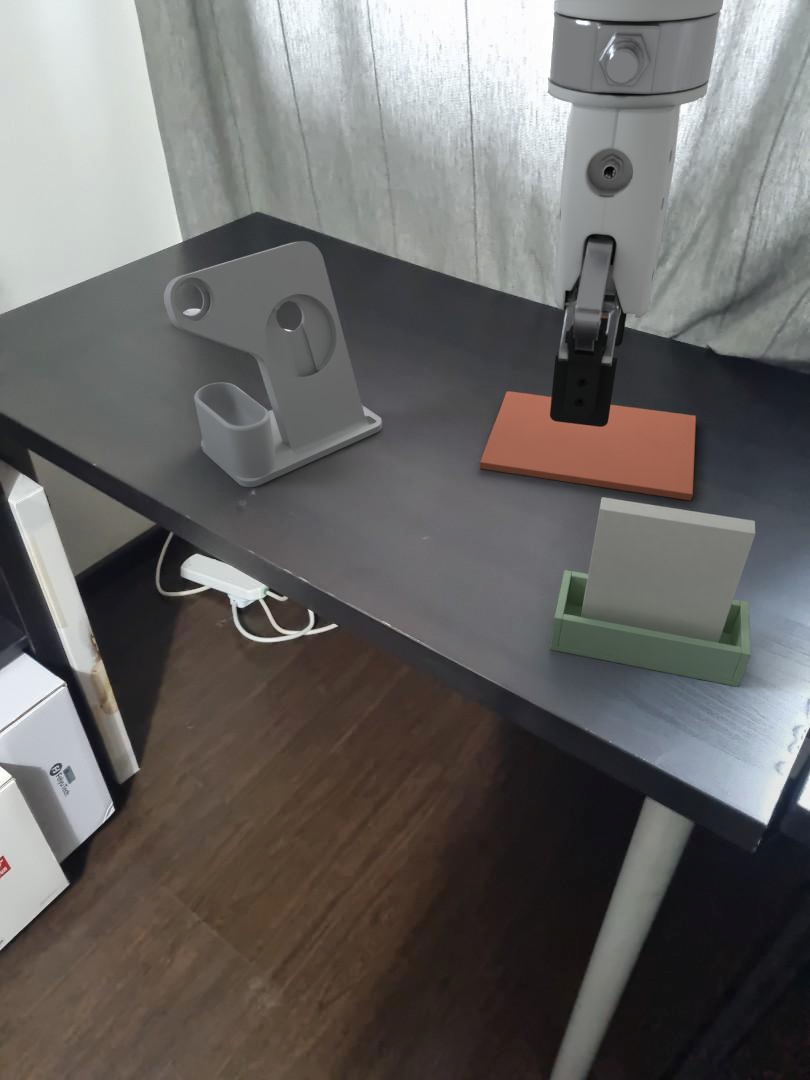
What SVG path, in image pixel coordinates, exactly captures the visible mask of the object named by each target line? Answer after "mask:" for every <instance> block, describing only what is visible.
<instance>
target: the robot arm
mask: <svg viewBox="0 0 810 1080" xmlns="http://www.w3.org/2000/svg"><path fill="white" fill-rule="evenodd" d="M723 6H724V0H552V11H551V12H552V13H551V27H550V39H549V40H550V41H549V54H548V68H547V78H546V93H547V94H549V96H551V97H553V98H555V99H557V100H559V101H563V102H565V103H568V112H567V113H568V114H567V123H566V134H565V142H564V151H563V152H564V153H563V164H562V175H561V186H560V199H559V200H560V201H559V209H558V210H559V213H558V225H557V238H556V239H557V241H556V257H555V258H556V259H555V277H554V278H555V279H554V280H555V281H554V282H555V283H554V302H555V303H554V304H556V305H557V307H558V308H559V309H560V310H561V311H563V312H564V318H563V325H562V331H561V337H560V342H559V349H558V351H556V353H555V357H554V366H553V367H554V368H553V377H552V388H551V397H552V398H551V408H550V417H551V419H552V420H553V421H556V422H565V423H573V424H581V425H589V426H597V427H603V426H605V425H606V424H607V423H608V419H609V412H610V406H611V405H612V398H613V392H614V385H615V378H616V371H617V366H618V359H619V358H618V357H614V352H615V347H620V346H621V345H622V343H623V340H624V333H625V327H626V321H627V314H630V315H634V318H636V319H640V318H641V317H643V316H645V315H646V313H648V312H649V310H650V305H651V299H652V295H653V289H654V283H655V277H656V273H657V267H658V266H657V265H658V262H659V255H660V248H661V243H662V237H663V231H664V227H665V220H666V216H667V215H666V214H667V209H668V203H669V197H670V191H671V186H672V180H673V174H674V168H675V160H676V153H677V147H678V138H679V130H680V121H681V109H682V105H685V104H690V103H692V102H696V101H698V100H700V99H702V98H704V97H705V96H706V95H707V92H708V86H709V81H710V77H711V76H710V75H711V70H712V65H713V59H714V54H715V49H716V43H717V39H718V33H719V27H720V23H721V22H720V21H721V16H722V10H723Z"/></svg>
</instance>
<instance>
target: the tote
mask: <svg viewBox="0 0 810 1080" xmlns="http://www.w3.org/2000/svg"><path fill="white" fill-rule="evenodd" d="M562 574H563V575H562V580H561V584H560V589H559V594H558V598H557V602H556V609H555V612H554V616H553V624H552V630H551V638H550V646H549V650H551V651H555V652H561V653H565V654H570V655H575V656H580V657H585V658H591V659H596V660H601V661H605V662H610V663H611V662H612V663H616V664H621V665H626V666H631V667H637V668H641V669H645V670H651V671H657V672H661V673H665V674H671V675H676V676H681V677H687V678H692V679H697V680H702V681H707V682H712V683H716V684H723V685H727V686H731V687H732V686H733V687H736V688H737V687H738V688H739V687H740V684H741V682H742V680H743V676H744V675H745V672H746V670H747V669H746V668H747V666H748V664H749V661H750V658H751V656H752V650H751V646H752V645H751V625H750V624H751V620H750V619H751V618H750V602H749V601H743V600H738V599H733V602H732V605H731V608H730V610H729V613H728V616H727V619H726V622H725V625H724V628H723V631H722V634H721V637H720V640H719V643H716V642H711V641H706V640H700V639H695V638H690V637H684V636H679V635H674V634H668V633H663V632H658V631H652V630H647V629H642V628H636V627H631V626H626V625H620V624H615V623H610V622H604V621H599V620H594V619H588V618H583V617H581V613H582V607H583V601H584V596H585V590H586V584H587V578H588V573H584V572H579V571H573V570H567V569H564V570H563V573H562Z"/></svg>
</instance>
